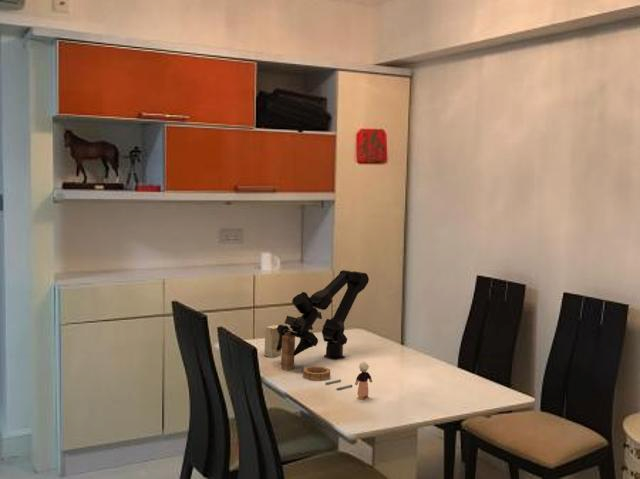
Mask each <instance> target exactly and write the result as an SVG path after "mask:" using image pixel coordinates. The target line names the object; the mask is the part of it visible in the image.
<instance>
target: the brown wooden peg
mask: <svg viewBox="0 0 640 479" xmlns="http://www.w3.org/2000/svg"><path fill="white" fill-rule="evenodd" d="M295 345H296V337H295V336H292V335H291V332H287V333H286V335H284V336H282V348H281V355H280V358H281V360H280V361H281V362H280V369H281V370H284V371H285V372H288V371H293V370H294V369H295V356H294V355H293V353H294V351H295V349H296V346H295Z"/></svg>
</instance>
